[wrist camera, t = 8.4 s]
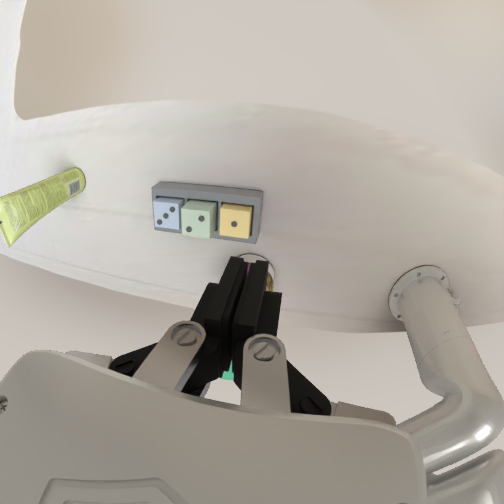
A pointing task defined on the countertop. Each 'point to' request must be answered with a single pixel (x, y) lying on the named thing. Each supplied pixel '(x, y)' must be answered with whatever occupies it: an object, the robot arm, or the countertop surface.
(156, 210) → the blue pip cube
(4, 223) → the tube
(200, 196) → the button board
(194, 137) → the countertop surface
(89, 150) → the countertop surface
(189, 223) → the pale green cube
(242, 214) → the single pip yellow cube
